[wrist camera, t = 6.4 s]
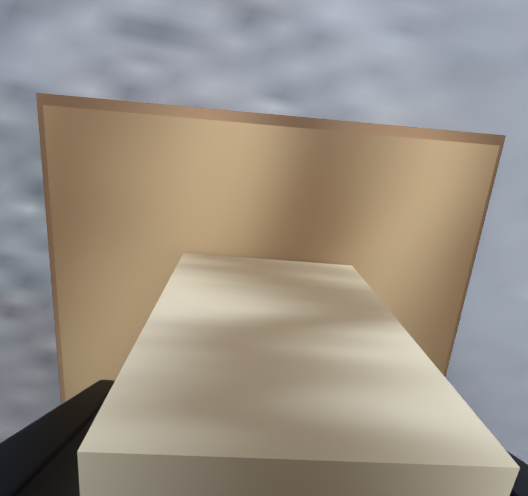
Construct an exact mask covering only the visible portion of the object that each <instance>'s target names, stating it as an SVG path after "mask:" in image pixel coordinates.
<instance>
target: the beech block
mask: <svg viewBox="0 0 528 496" xmlns="http://www.w3.org/2000/svg"><path fill="white" fill-rule="evenodd" d="M77 457H78V473H79V490H80V496H510V493H511V490H512V488H513V485H514V483H515V480H516V477H517V475H518V472H519V469H520V467H519V466H518V465H517V463H516V462H515V461H514V460H513V459H512V457H511V456H510V455H509V454H508V453H507V451H506V450H505V449H504V448H503V447H502V445H501V444H500V443H499V442H498V440H497V439H496V438H495V437H494V436H493V434H492V433H491V432H490V431H489V430H488V428H487V427H486V426H485V425H484V424H483V422H482V421H481V420H480V419H479V418H478V416H477V415H476V414H475V413H474V412H473V410H472V409H471V408H470V407H469V406H468V404H467V403H466V402H465V401H464V400H463V398H462V397H461V396H460V395H459V394H458V392H457V391H456V390H455V389H454V388H453V386H452V385H451V384H450V383H449V381H448V380H447V379H446V378H445V377H444V375H443V374H442V373H441V372H440V371H439V369H438V368H437V367H436V366H435V365H434V363H433V362H432V361H431V360H430V359H429V357H428V356H427V355H426V354H425V353H424V351H423V350H422V349H421V348H420V347H419V345H418V344H417V343H416V342H415V341H414V339H413V338H412V337H411V336H410V335H409V333H408V332H407V331H406V330H405V328H404V327H403V326H402V325H401V324H400V322H399V321H398V320H397V319H396V318H395V316H394V315H393V314H392V313H391V312H390V310H389V309H388V308H387V307H386V306H385V304H384V303H383V302H382V301H381V300H380V298H379V297H378V296H377V295H376V294H375V292H374V291H373V290H372V289H371V288H370V286H369V285H368V284H367V283H366V282H365V280H364V279H363V278H362V277H361V276H360V274H359V273H358V272H357V271H356V269H355V268H354V267H353V266H351V265H338V264H325V263H312V262H299V261H286V260H273V259H260V258H247V257H234V256H221V255H208V254H195V253H183V255H182V257H181V259H180V261H179V262H178V264H177V266H176V268H175V270H174V272H173V274H172V275H171V277H170V279H169V281H168V283H167V285H166V287H165V289H164V290H163V292H162V294H161V296H160V298H159V300H158V302H157V303H156V305H155V307H154V309H153V311H152V313H151V315H150V317H149V318H148V320H147V322H146V324H145V326H144V328H143V330H142V332H141V333H140V335H139V337H138V339H137V341H136V343H135V345H134V346H133V348H132V350H131V352H130V354H129V356H128V358H127V360H126V361H125V363H124V365H123V367H122V369H121V371H120V373H119V374H118V376H117V378H116V380H115V382H114V384H113V386H112V388H111V389H110V391H109V393H108V395H107V397H106V399H105V401H104V403H103V404H102V406H101V408H100V410H99V412H98V414H97V416H96V417H95V419H94V421H93V423H92V425H91V427H90V429H89V431H88V432H87V434H86V436H85V438H84V440H83V442H82V444H81V446H80V447H79V449H78V451H77Z"/></svg>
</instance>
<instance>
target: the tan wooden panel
mask: <svg viewBox="0 0 528 496" xmlns="http://www.w3.org/2000/svg"><path fill="white" fill-rule="evenodd" d="M36 96H37V108H38V121H39V133H40V146H41V158H42V170H43V183H44V195H45V208H46V220H47V233H48V245H49V258H50V270H51V283H52V295H53V307H54V320H55V332H56V345H57V357H58V370H59V382H60V395H61V404H63V403H64V402H66V401H67V400H69V399H71V398H72V397H74V396H75V395H77V394H78V393H80V392H82V391H83V390H85V389H86V388H88V387H89V386H91V385H93V384H94V383H96V382H97V381H99V380H102V379H104V380H116V378H117V376H118V374H119V373H120V371H121V369H122V367H123V365H124V363H125V361H126V360H127V358H128V356H129V354H130V352H131V350H132V348H133V346H134V345H135V343H136V341H137V339H138V337H139V335H140V333H141V332H142V330H143V328H144V326H145V324H146V322H147V320H148V318H149V317H150V315H151V313H152V311H153V309H154V307H155V305H156V303H157V302H158V300H159V298H160V296H161V294H162V292H163V290H164V289H165V287H166V285H167V283H168V281H169V279H170V277H171V275H172V274H173V272H174V270H175V268H176V266H177V264H178V262H179V261H180V259H181V257H182V255H183V253H195V254H208V255H221V256H234V257H247V258H260V259H273V260H286V261H299V262H312V263H325V264H338V265H351V266H353V267H354V268H355V269H356V271H357V272H358V273H359V274H360V276H361V277H362V278H363V279H364V280H365V282H366V283H367V284H368V285H369V286H370V288H371V289H372V290H373V291H374V292H375V294H376V295H377V296H378V297H379V298H380V300H381V301H382V302H383V303H384V304H385V306H386V307H387V308H388V309H389V310H390V312H391V313H392V314H393V315H394V316H395V318H396V319H397V320H398V321H399V322H400V324H401V325H402V326H403V327H404V328H405V330H406V331H407V332H408V333H409V335H410V336H411V337H412V338H413V339H414V341H415V342H416V343H417V344H418V345H419V347H420V348H421V349H422V350H423V351H424V353H425V354H426V355H427V356H428V357H429V359H430V360H431V361H432V362H433V363H434V365H435V366H436V367H437V368H438V369H439V371H440V372H441V373H442V374H443V375H444V377H445V376H446V372H447V368H448V364H449V360H450V356H451V352H452V348H453V344H454V340H455V336H456V332H457V328H458V324H459V320H460V316H461V312H462V308H463V304H464V300H465V296H466V292H467V288H468V284H469V280H470V276H471V272H472V268H473V264H474V260H475V256H476V252H477V248H478V244H479V240H480V236H481V232H482V228H483V224H484V220H485V216H486V212H487V208H488V204H489V200H490V196H491V192H492V188H493V184H494V180H495V176H496V172H497V168H498V164H499V160H500V156H501V152H502V148H503V144H504V140H505V136H504V135H493V134H482V133H471V132H460V131H449V130H438V129H427V128H416V127H405V126H394V125H383V124H372V123H361V122H350V121H339V120H328V119H317V118H306V117H295V116H284V115H273V114H262V113H251V112H240V111H229V110H218V109H207V108H196V107H185V106H174V105H163V104H152V103H141V102H130V101H119V100H108V99H97V98H86V97H75V96H64V95H53V94H42V93H36Z"/></svg>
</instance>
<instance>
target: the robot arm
mask: <svg viewBox="0 0 528 496" xmlns="http://www.w3.org/2000/svg"><path fill="white" fill-rule="evenodd" d="M114 382H115V380H104V379H102V380H99V381H97V382H96V383H94V384H93V385H91V386H89V387H88V388H86V389H85V390H83V391H82V392H80V393H78V394H77V395H75V396H74V397H72V398H71V399H69V400H67V401H66V402H64V403H63V404H61V405H60V406H58V407H56V408H55V409H53V410H52V411H50V412H49V413H47V414H45V415H44V416H42V417H41V418H39V419H38V420H36V421H34V422H33V423H31V424H30V425H28V426H27V427H25V428H23V429H22V430H20V431H19V432H17V433H16V434H14V435H13V436H11V437H9V438H8V439H6V440H5V441H3V442H2V443H0V496H80V490H79V473H78V457H77V451H78V449H79V447H80V446H81V444H82V442H83V440H84V438H85V436H86V434H87V432H88V431H89V429H90V427H91V425H92V423H93V421H94V419H95V417H96V416H97V414H98V412H99V410H100V408H101V406H102V404H103V403H104V401H105V399H106V397H107V395H108V393H109V391H110V389H111V388H112V386H113V384H114ZM507 453H508V454H509V455H510V456H511V457H512V459H513V460H514V461H515V462H516V463H517V465H518V466H519V467H520V469H519V472H518V475H517V477H516V480H515V483H514V485H513V488H512V490H511V493H510V496H528V465H527V464H526V463H524V462H523V461H521V460H520V459H518V458H517V457H515V456H514V455H512V454H511V453H509V452H508V451H507Z"/></svg>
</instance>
